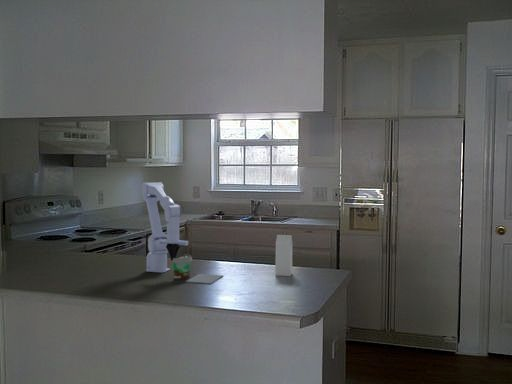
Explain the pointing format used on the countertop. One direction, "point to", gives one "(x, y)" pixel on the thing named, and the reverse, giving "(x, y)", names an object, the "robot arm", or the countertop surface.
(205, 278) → the mat
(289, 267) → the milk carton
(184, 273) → the food container
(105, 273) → the countertop surface
